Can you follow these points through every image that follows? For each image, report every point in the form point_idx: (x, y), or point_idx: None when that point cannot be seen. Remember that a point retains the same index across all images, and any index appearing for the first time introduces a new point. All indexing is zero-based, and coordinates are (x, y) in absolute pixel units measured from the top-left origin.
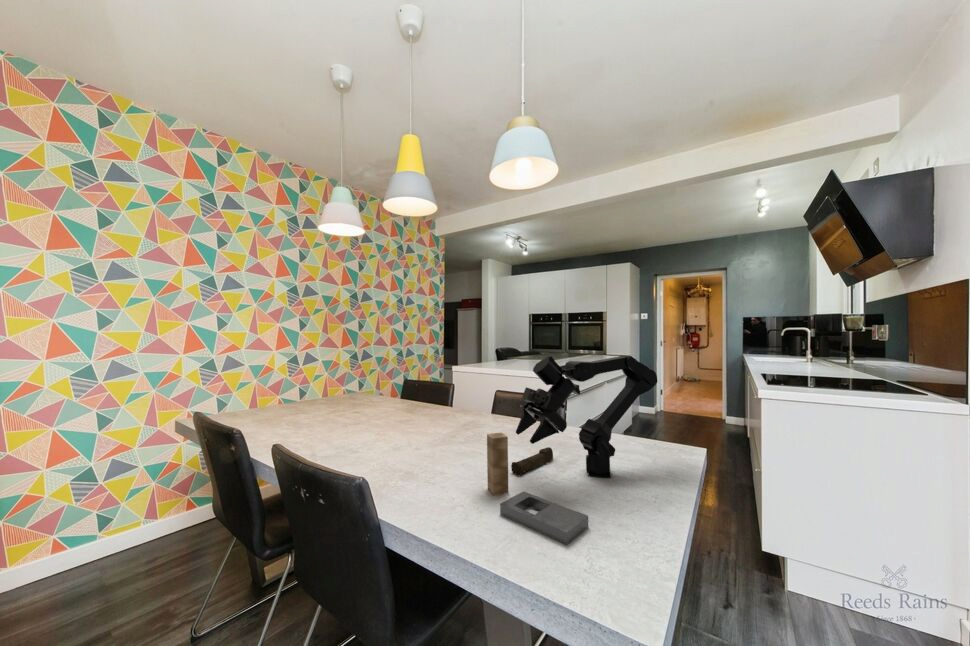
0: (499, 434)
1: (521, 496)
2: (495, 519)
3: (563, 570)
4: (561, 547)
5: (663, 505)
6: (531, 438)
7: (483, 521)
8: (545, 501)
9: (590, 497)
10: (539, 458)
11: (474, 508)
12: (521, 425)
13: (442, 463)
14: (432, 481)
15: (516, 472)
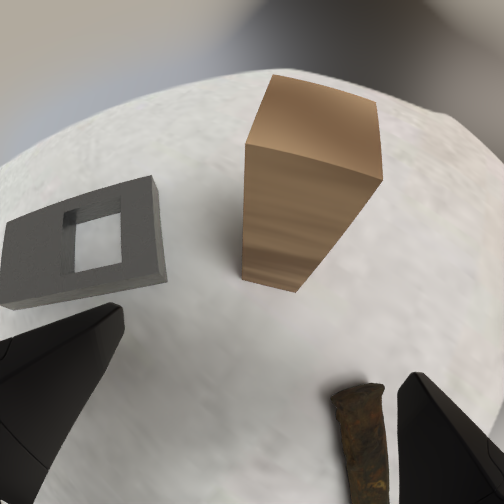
0: (337, 137)
1: (138, 243)
2: (151, 173)
3: (12, 191)
4: None
5: None
6: (96, 312)
7: (164, 152)
8: (75, 279)
9: (79, 444)
10: (359, 501)
11: (223, 160)
12: (439, 439)
13: (483, 235)
14: (402, 163)
15: (348, 389)
